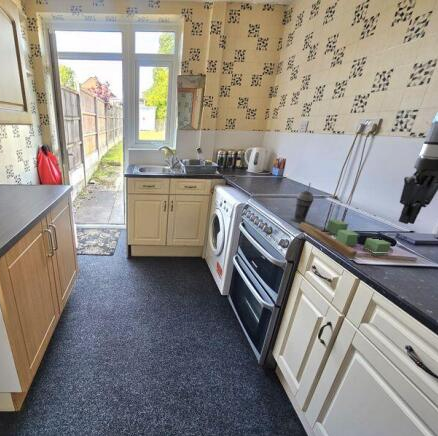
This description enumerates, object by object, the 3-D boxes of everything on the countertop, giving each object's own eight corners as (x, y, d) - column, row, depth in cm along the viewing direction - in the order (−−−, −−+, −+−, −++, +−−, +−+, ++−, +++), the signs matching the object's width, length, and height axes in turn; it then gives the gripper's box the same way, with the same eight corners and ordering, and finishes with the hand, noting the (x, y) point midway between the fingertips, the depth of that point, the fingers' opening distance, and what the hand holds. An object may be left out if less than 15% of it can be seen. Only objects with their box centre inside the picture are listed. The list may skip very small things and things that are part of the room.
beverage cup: (303, 219, 128) (314, 181, 120) (309, 224, 121) (321, 184, 114) (288, 217, 129) (298, 180, 122) (293, 223, 122) (304, 183, 115)
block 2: (374, 249, 98) (378, 237, 96) (386, 255, 93) (391, 243, 91) (362, 249, 97) (366, 238, 95) (374, 255, 92) (379, 244, 91)
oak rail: (303, 228, 116) (305, 222, 115) (354, 258, 90) (357, 251, 89) (299, 228, 116) (301, 222, 115) (349, 258, 90) (352, 251, 89)
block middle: (345, 240, 105) (349, 229, 103) (355, 245, 100) (360, 234, 98) (334, 240, 104) (338, 229, 102) (344, 246, 99) (348, 235, 98)
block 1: (336, 229, 115) (339, 219, 113) (344, 234, 111) (348, 224, 109) (326, 230, 115) (329, 220, 113) (334, 234, 110) (337, 224, 108)
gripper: (440, 156, 87) (412, 218, 95) (402, 156, 85) (377, 219, 94) (467, 159, 80) (435, 226, 88) (426, 159, 79) (398, 226, 87)
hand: (405, 222), depth 91 cm, fingers closed
